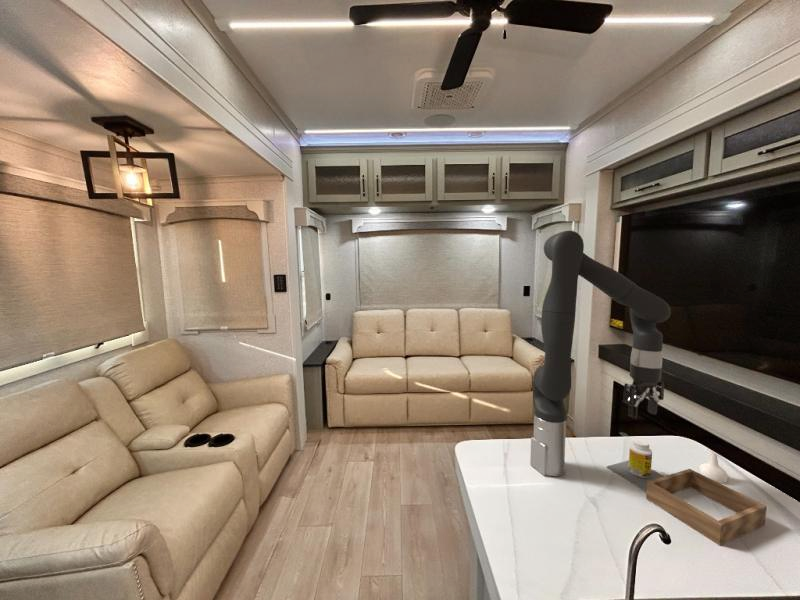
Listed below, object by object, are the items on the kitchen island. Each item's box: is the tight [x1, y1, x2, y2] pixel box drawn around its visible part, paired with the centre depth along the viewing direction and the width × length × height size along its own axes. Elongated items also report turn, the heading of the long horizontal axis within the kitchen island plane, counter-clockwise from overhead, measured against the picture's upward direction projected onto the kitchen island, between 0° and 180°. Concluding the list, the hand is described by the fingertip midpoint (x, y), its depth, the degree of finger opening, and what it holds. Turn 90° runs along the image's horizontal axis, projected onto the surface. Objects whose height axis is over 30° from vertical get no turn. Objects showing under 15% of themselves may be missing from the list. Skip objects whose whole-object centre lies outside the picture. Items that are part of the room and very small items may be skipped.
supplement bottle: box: [628, 438, 653, 478], centre depth 97 cm, size 6×6×10 cm
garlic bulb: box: [698, 451, 729, 484], centre depth 96 cm, size 6×6×8 cm
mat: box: [606, 459, 665, 492], centre depth 98 cm, size 12×12×1 cm
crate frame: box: [645, 468, 767, 546], centre depth 82 cm, size 18×16×5 cm
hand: (642, 415), depth 96 cm, fingers open, 8 cm apart
